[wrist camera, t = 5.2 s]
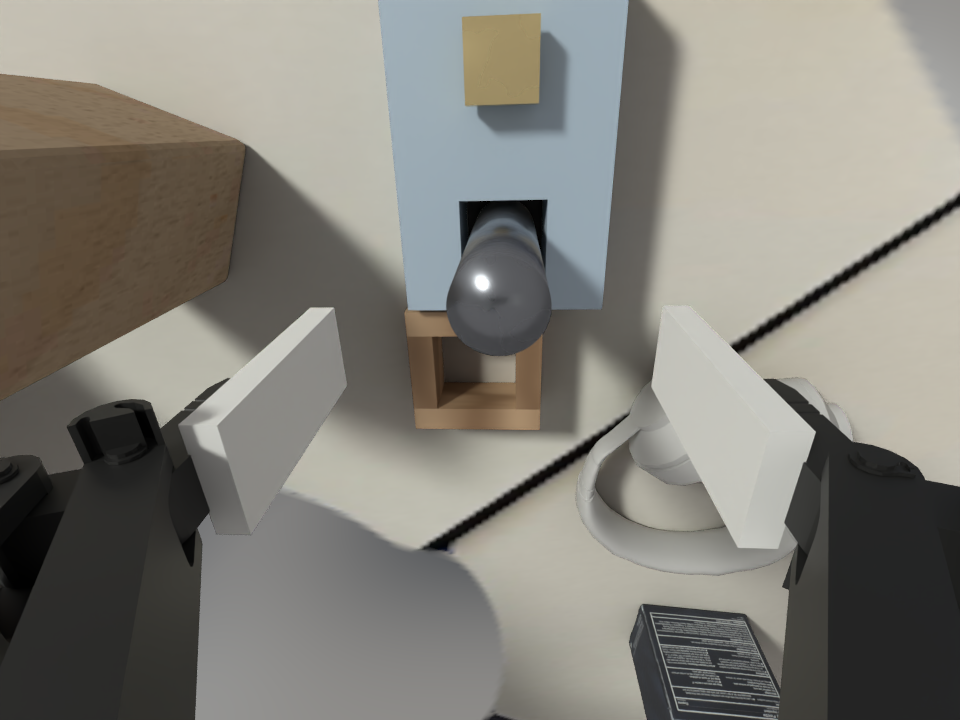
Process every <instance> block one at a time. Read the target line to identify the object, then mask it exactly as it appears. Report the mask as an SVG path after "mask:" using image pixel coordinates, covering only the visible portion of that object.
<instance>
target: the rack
mask: <svg viewBox="0 0 960 720" xmlns="http://www.w3.org/2000/svg"><path fill="white" fill-rule="evenodd" d="M404 315H405V325H406V335H407V345H408V355H409V364H410V374H411V384H412V394H413V404H414V414H415V424H416V429H501V430H540V400H541V368H542V335H543V334H542V335H541V337H540V338H539V339H538V340H537V341H536V342H535V343H534V344H533V345H531V346H530V347H528V348H527V349H525V350H523V351H521V352H518V353H516V383H482V382H444V367H443V352H442V337H447V336H457V335H456V334H455V333H454V331H453V329H452V328H451V325H450V323H449V320H448V317H447V311H446V310H408V307H407V309H406V310H405V312H404Z"/></svg>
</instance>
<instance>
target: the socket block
mask: <svg viewBox="0 0 960 720" xmlns="http://www.w3.org/2000/svg"><path fill="white" fill-rule="evenodd" d="M628 2H629V0H378V3H379V14H380V24H381V34H382V45H383V55H384V65H385V76H386V86H387V97H388V107H389V117H390V128H391V138H392V148H393V159H394V169H395V179H396V190H397V200H398V210H399V221H400V231H401V241H402V252H403V262H404V272H405V283H406V293H407V303H408V310H446V300H447V295H448V291H449V288H450V286H451V283H452V280H453V278H454V275H455V273H456V270H457V268H458V265H459V263H460V260H461V258H462V255H463V252H464V250H465V247H466V245H467V242H468V220H467V201H497V200H543V201H542V237H541V256H542V260H543V265H544V269H545V274H546V278H547V282H548V287H549V291H550V296H551V302H552V310H575V309H602V303H603V292H604V280H605V269H606V257H607V245H608V234H609V222H610V211H611V199H612V187H613V176H614V164H615V153H616V141H617V129H618V118H619V106H620V95H621V83H622V71H623V60H624V48H625V36H626V25H627V13H628ZM532 13H541V38H540V82H539V104H531V105H502V106H472V107H467V106H465V92H464V64H463V37H462V17H466V16H488V15H510V14H532Z"/></svg>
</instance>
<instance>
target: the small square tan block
mask: <svg viewBox="0 0 960 720" xmlns="http://www.w3.org/2000/svg"><path fill="white" fill-rule="evenodd" d="M462 37H463V64H464V92H465V106H467V107H472V106H502V105H531V104H539V82H540V38H541V13H532V14H510V15H488V16H466V17H462Z"/></svg>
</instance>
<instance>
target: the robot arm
mask: <svg viewBox="0 0 960 720" xmlns="http://www.w3.org/2000/svg"><path fill="white" fill-rule="evenodd" d="M346 386H347V381H346V375H345V369H344V363H343V357H342V351H341V345H340V339H339V333H338V327H337V321H336V315H335V309H334V308H309V309H308V310H307V311H306V312H305V313H304V314H303V315H302V316H300V317H299V318H298V319H297V320H296V321H295V322H294V323H293V324H291V325H290V326H289V327H288V328H287V329H286V330H285V331H284V332H282V333H281V334H280V335H279V336H278V337H277V338H276V339H274V340H273V341H272V342H271V343H270V344H269V345H268V346H267V347H265V348H264V349H263V350H262V351H261V352H260V353H259V354H258V355H256V356H255V357H254V358H253V359H252V360H251V361H250V362H249V363H247V364H246V365H245V366H244V367H243V368H242V369H241V370H240V371H238V372H237V373H236V374H235V375H234V376H233V377H232V378H227V379H225V380H223V381H221V382H219V383H217V384H215V385H213V386H211V387H209V388H208V389H206V390H205V391H204V392H203V393H202V394H200V395H199V396H198V397H197V398H196V399H195V401H192V402H191V403H190V404H189V405H188V406H186V407H185V408H184V409H185V410H184V411H181V412H179V413H178V414H177V415H176V416H175V417H174V418H172V419H171V420H170V421H169V422H168V423H167V424H165V425H164V426H163V427H162V428H161V429H160V427H159V424H158V421H157V419H156V416H155V413H154V411H153V408H152V405H151V403H150V402H147V401H145V400H137V399H130V400H122V401H116V402H112V403H109V404H105V405H101V406H99V407H96V408H94V409H91V410H89V411H87V412H85V413H83V414H81V415H80V416H78V417H76V418H75V419H73V420H72V421H71V423H70V424H69V425H68V426H67V428H68V431H69V433H70V435H71V437H72V439H73V441H74V443H75V445H76V448H77V450H78V452H79V454H80V456H81V458H82V460H83V462H84V466H83V468H82V469H79V470H74V471H68V472H62V473H56V474H51V475H48V473H47V472H46V470H45V468H44V466H43V464H42V462H41V460H40V458H39V457H36V456H33V455H18V456H13V457H8V458H0V720H195V706H196V683H197V657H198V636H199V611H200V588H201V563H202V541H201V538H200V534H199V532H198V529H197V527H198V526H199V525H200V523H201V522H202V521H203V520H204V518H205V517H206V516H207V515H208V513H209V515H210V518H211V521H212V523H213V526H214V529H215V532H216V534H226V535H227V534H228V535H251V534H252V533H253V531H254V530H255V528H256V527H257V525H258V524H259V522H260V520H261V519H262V517H263V516H264V514H265V513H266V511H267V509H268V508H269V506H270V505H271V503H272V502H273V500H274V499H275V497H276V495H277V494H278V492H279V491H280V489H281V488H282V486H283V485H284V483H285V481H286V480H287V478H288V477H289V475H290V474H291V472H292V471H293V469H294V467H295V466H296V464H297V463H298V461H299V460H300V458H301V457H302V455H303V453H304V452H305V450H306V449H307V447H308V446H309V444H310V443H311V441H312V439H313V438H314V436H315V435H316V433H317V432H318V430H319V429H320V427H321V425H322V424H323V422H324V421H325V419H326V418H327V416H328V415H329V413H330V411H331V410H332V408H333V407H334V405H335V404H336V402H337V401H338V399H339V397H340V396H341V394H342V393H343V391H344V390H345V388H346ZM651 387H652V389H653V391H654V393H655V395H656V397H657V398H658V400H659V402H660V404H661V406H662V408H663V410H664V411H665V413H666V415H667V417H668V419H669V421H670V423H671V424H672V426H673V428H674V430H675V432H676V434H677V436H678V437H679V439H680V441H681V443H682V445H683V447H684V449H685V451H686V452H687V454H688V456H689V458H690V460H691V462H692V464H693V465H694V467H695V469H696V471H697V473H698V475H699V477H700V478H701V480H702V482H703V484H704V486H705V488H706V490H707V491H708V493H709V495H710V497H711V499H712V501H713V503H714V504H715V506H716V508H717V510H718V512H719V514H720V516H721V517H722V519H723V521H724V523H725V525H726V527H727V529H728V530H729V532H730V534H731V536H732V538H733V540H734V542H735V543H736V545H737V547H738V548H762V549H778V547H779V544H780V541H781V538H782V535H783V532H784V529H785V526H787V528H788V529H789V531H790V532H791V533H792V535H793V536H794V538H795V539H796V541H797V542H798V543H797V546H796V549H795V552H794V555H793V557H792V560H791V563H790V566H789V569H788V572H787V575H786V578H785V580H784V583H783V586H782V587H783V588H786V589H788V590H789V599H788V610H787V622H786V633H785V644H784V656H783V667H782V678H781V690H780V701H779V713H778V720H960V487H958V486H953V485H948V484H943V483H938V482H932V481H927V480H925V478H924V476H923V475H922V473H921V472H920V470H919V468H918V467H916V466H915V465H914V464H912V463H911V462H910V461H908V460H907V459H906V458H904V457H902V456H900V455H897V454H895V453H893V452H891V451H889V450H886V449H883V448H880V447H877V446H874V445H869V444H863V443H857V442H852V441H851V440H850V439H849V438H848V437H847V436H846V435H845V434H843V433H842V432H841V431H840V430H839V429H838V428H837V427H836V426H835V425H834V424H833V423H831V422H830V421H829V420H828V419H827V418H826V417H825V416H824V415H823V414H820V411H818V410H817V409H816V408H815V407H814V406H813V405H812V404H809V401H808V400H807V399H805V398H804V397H803V396H802V395H801V394H800V393H799V392H798V391H797V390H796V389H794V388H792V387H790V386H788V385H786V384H784V383H782V382H780V381H778V380H776V379H762V378H761V377H760V376H759V375H758V374H757V373H756V372H755V371H754V370H753V369H752V368H751V367H750V366H749V365H748V364H747V363H746V362H745V361H744V360H743V359H742V358H741V357H740V356H739V355H738V354H737V353H736V352H735V351H734V350H733V349H732V348H731V347H730V346H729V345H728V344H727V343H726V342H725V341H724V340H723V339H722V338H721V337H720V336H719V335H718V334H717V333H716V332H715V331H714V330H713V329H712V328H711V327H710V326H709V325H708V324H707V323H706V322H705V321H704V320H703V319H702V318H701V317H700V316H699V315H698V314H697V313H696V312H695V311H694V310H693V309H692V308H691V307H690V306H689V305H670V306H663V308H662V315H661V322H660V329H659V336H658V343H657V350H656V357H655V364H654V371H653V378H652V385H651Z"/></svg>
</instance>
